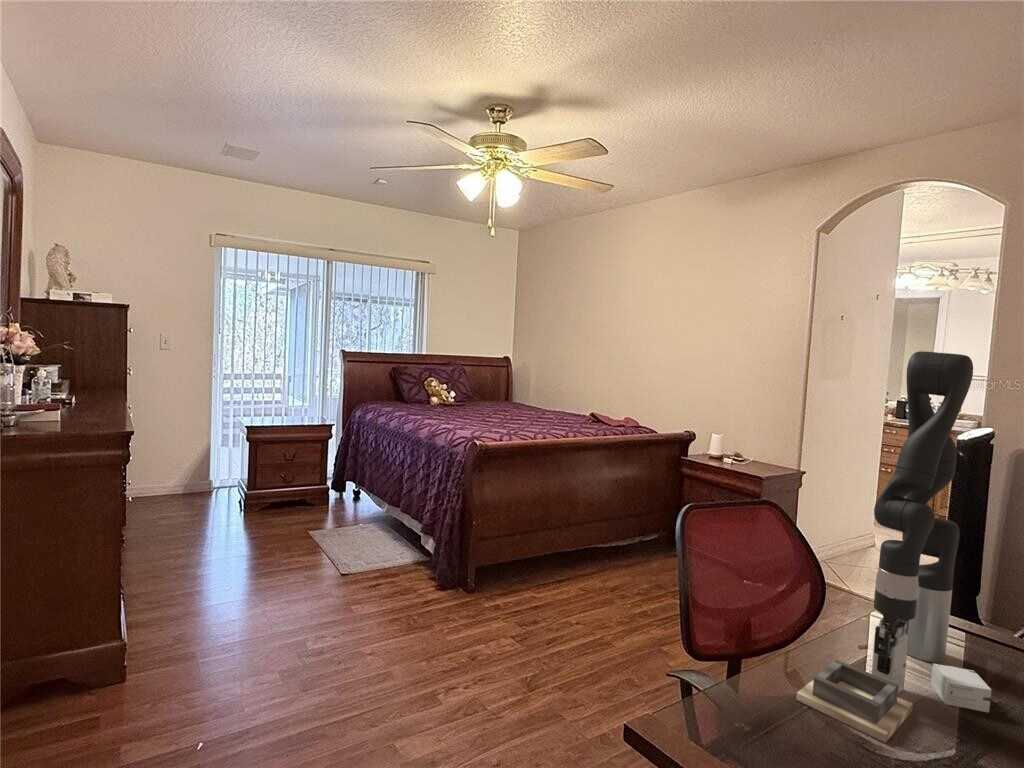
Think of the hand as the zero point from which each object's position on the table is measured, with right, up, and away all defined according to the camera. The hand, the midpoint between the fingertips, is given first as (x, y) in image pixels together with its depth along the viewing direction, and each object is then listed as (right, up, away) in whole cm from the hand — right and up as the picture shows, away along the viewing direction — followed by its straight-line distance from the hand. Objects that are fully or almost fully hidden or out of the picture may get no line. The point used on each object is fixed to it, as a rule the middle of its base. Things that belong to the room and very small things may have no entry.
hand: (888, 667), depth 124 cm
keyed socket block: (-11, -4, -7) cm, 14 cm away
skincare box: (0, -5, 0) cm, 5 cm away
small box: (+14, -6, -2) cm, 15 cm away
